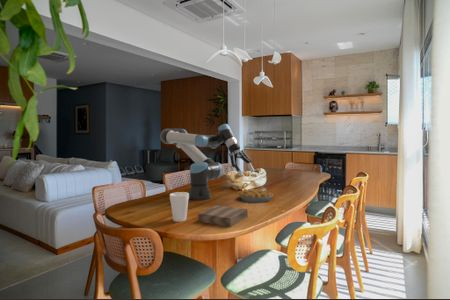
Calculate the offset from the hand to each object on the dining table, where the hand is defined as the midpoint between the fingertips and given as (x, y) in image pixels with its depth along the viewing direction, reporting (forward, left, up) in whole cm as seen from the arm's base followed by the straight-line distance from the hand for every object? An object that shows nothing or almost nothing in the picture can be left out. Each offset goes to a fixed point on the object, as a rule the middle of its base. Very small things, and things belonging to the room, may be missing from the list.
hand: (247, 173), depth 188 cm
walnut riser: (+8, -46, -17) cm, 50 cm away
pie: (+4, +3, -17) cm, 18 cm away
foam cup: (-11, -57, -17) cm, 60 cm away
